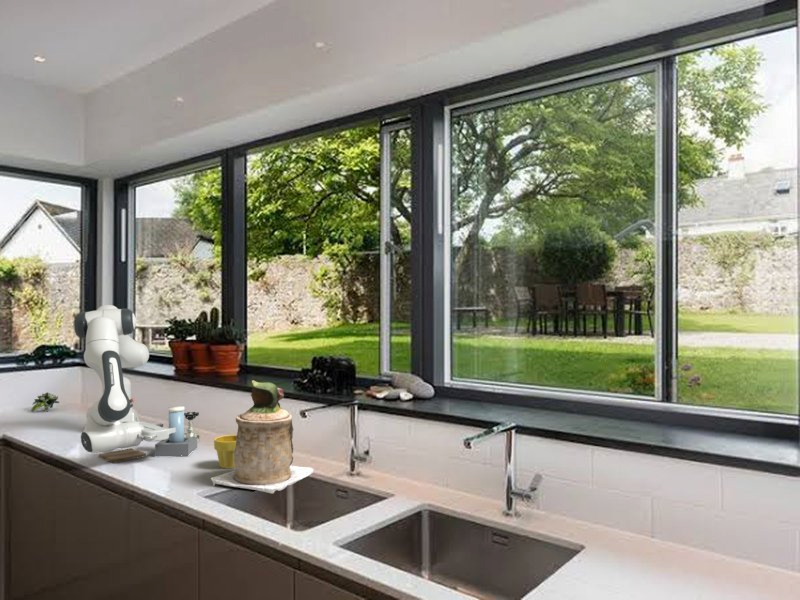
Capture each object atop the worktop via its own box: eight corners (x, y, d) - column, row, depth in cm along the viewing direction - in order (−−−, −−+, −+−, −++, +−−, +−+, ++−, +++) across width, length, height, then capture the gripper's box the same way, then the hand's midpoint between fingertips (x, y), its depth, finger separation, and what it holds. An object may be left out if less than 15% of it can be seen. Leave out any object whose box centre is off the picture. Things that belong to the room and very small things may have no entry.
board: (98, 457, 220) (98, 454, 220) (131, 450, 229) (131, 448, 229) (113, 463, 212) (113, 460, 212) (146, 456, 222) (146, 453, 221)
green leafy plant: (46, 419, 314) (60, 399, 320) (51, 419, 306) (65, 398, 312) (25, 409, 309) (39, 389, 315) (30, 408, 301) (44, 387, 307)
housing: (165, 448, 233) (165, 437, 233) (197, 448, 234) (197, 436, 234) (155, 456, 221) (155, 444, 221) (188, 456, 222) (188, 444, 222)
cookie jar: (276, 495, 178) (276, 387, 178) (207, 486, 187) (207, 383, 186) (316, 472, 201) (316, 377, 201) (253, 465, 210) (253, 374, 210)
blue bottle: (171, 450, 230) (170, 406, 230) (186, 450, 230) (186, 406, 230) (166, 454, 224) (166, 409, 224) (182, 454, 224) (182, 408, 224)
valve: (193, 445, 238) (193, 415, 238) (178, 444, 240) (178, 414, 240) (202, 441, 245) (202, 412, 245) (187, 440, 246) (187, 411, 246)
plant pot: (209, 470, 204) (209, 441, 204) (220, 461, 214) (220, 434, 214) (239, 470, 203) (239, 441, 203) (248, 462, 214) (248, 434, 214)
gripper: (145, 429, 207) (182, 423, 218) (119, 421, 221) (155, 415, 231) (145, 447, 208) (182, 440, 218) (119, 438, 221) (155, 432, 231)
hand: (168, 427), depth 225 cm, fingers open, 8 cm apart
